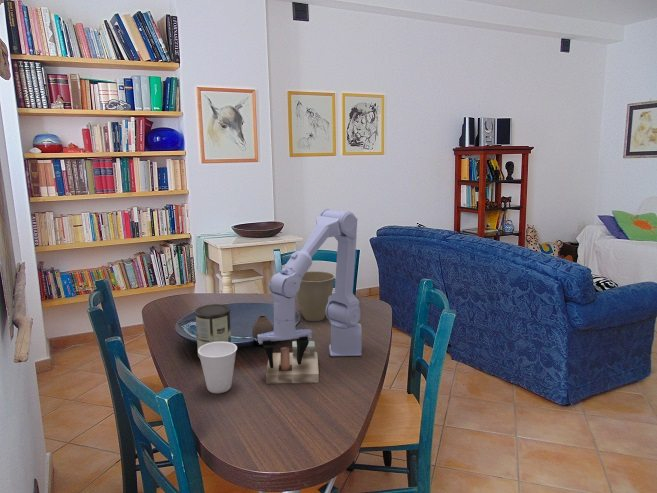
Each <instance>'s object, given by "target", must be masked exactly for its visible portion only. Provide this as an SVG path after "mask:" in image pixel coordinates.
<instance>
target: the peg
mask: <svg viewBox="0 0 657 493" xmlns="http://www.w3.org/2000/svg"><path fill="white" fill-rule="evenodd" d="M280 353H281V371H290V354H289V353H290V347H288V346H283V347H281V348H280Z"/></svg>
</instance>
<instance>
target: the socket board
mask: <svg viewBox="0 0 657 493" xmlns="http://www.w3.org/2000/svg"><path fill="white" fill-rule="evenodd" d="M289 354H290V371H281V352H273V368H270V365H269V359H268V358H267V359H268V360H267V365H266V373H265V384H268V385H269V384H309V383H310V384H311V383H316V384H317V383H320V382H319V380H320V379H319V378H320V377H319V374H320V373H319V362H318V361H319V359H318V352H316V351H314V356H310V351H309V352H307V351H305V352H304V354H303V357H302V361H301V364H300V365H299V364H298V363H297V356H293V352H289Z"/></svg>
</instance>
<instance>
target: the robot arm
mask: <svg viewBox="0 0 657 493" xmlns="http://www.w3.org/2000/svg"><path fill="white" fill-rule="evenodd" d="M357 232H358V218H357V217H356V215H355V214H354V213H353V212H351V211H342V210H335V209H331V208H325V209H323V210H322V211H321V212H320V213H319V215H318V216H317V217H316V225H315V227H314V229H313V231H312V232H311V234H310V235H309V237H308V239H307V240H306V241H305V243H304V245H303V247H302V248H301V250H296V251H294V252H293V253H291V255H290V258H289V260H287V262H286V263H285V265H284V266H283V267H282V269H281V270H280V271H279V272H277V273H275V274H273V275H272V276H271V278H270V280H269V284H268V285H267V286H268V290H269V291H270V293H271V297H272V298H271V299H273V330H274V331H272V332H268V333H264V334H258V335H257V336H258V343H259V344H258V345H260V344H262V347H263V349H264V350H265V353H266V356H267V357H268V358H267V359H269V365H270V368H273V353H274V346H273V343H272V342H278V341H279V342H280V341H288V340H295V341H297V363H298V364H299V365H300V364H301V361H302V357H303V354H304V352H306V350H307V349H306V348H307V346H308V344H309V341H310V339H312V337H313V336H312V335H313V334H312V332H313V331H312V329H309V328H307V329H306V328H305V329H302V328H300V329H299V328H298V329H297V328H296V296H297V293H298V292H299V289H300V283H301V282H302V277H303V276H304V275H305V273H306V272H308V270H309V269H310V267H311V266H312V265H313V259H312V258H313V256H314V255H315V254H316V253H317V252H318V250H319V249H321V247H322V245H324V243H325V242H326V241H327V239H328V238H335V240H336V241H337V249H336V250H337V253H336V269H335V279H334V292H332V295H330V296H329V297H328V304H327V306H326V310H325V313H326V315H325V317H326V318H327V319H328V321H329V323H330V344H328V349H329V350H328V351H329V356H330V357H356V356H357V357H359V356H360V357H361V356H362V345H363V343H362V342H363V341H362V339H363V336H362V335H363V333H362V331H363V330H362V324H361V323H358V322H359V321H360V320H361V315H362V314H361V309H360V300H359V299H358V298H357V296H356V295H355V294H354V293H353V292H354V291H353V290H354V279H355V278H354V277H355V266H356V265H355V264H356V252H357V251H356V250H357V238H358V237H357V236H358V235H357Z"/></svg>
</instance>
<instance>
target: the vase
mask: <svg viewBox="0 0 657 493" xmlns="http://www.w3.org/2000/svg"><path fill="white" fill-rule="evenodd" d="M272 331H274V325H273V324H272V323H271V321H270V320H269V319H268V318H267V316H266V315H263V314H262V315H259V316H258V318H257V319H256V321H255V322H254V323H253V326H252V328H251V336H252V339H253V338H256V339H258V336H257V335H258V334H264V333H268V332H272ZM259 345H262V344H259ZM262 346H263V345H262Z"/></svg>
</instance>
